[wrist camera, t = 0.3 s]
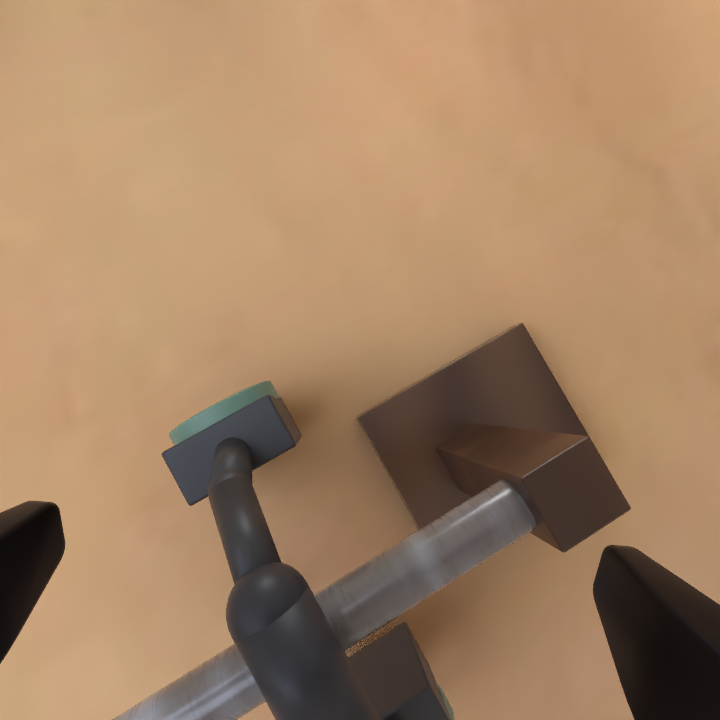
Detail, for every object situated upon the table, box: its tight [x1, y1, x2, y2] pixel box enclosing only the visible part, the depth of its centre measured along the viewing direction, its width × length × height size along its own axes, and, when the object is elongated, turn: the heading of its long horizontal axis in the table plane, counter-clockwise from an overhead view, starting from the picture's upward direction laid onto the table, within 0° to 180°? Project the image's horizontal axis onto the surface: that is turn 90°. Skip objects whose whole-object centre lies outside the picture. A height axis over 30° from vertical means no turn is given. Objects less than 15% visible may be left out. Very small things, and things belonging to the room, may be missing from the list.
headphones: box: [162, 381, 454, 720], centre depth 15 cm, size 4×14×10 cm, turn 30°
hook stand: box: [112, 323, 631, 720], centre depth 17 cm, size 20×8×11 cm, turn 120°
